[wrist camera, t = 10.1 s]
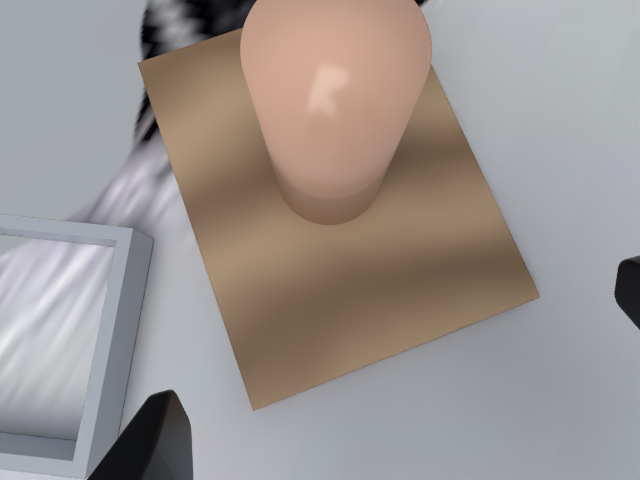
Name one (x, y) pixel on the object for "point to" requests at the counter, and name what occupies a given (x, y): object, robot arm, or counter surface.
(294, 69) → the pink tall rounded piece
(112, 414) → the grey box
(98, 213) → the counter surface
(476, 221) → the walnut board
